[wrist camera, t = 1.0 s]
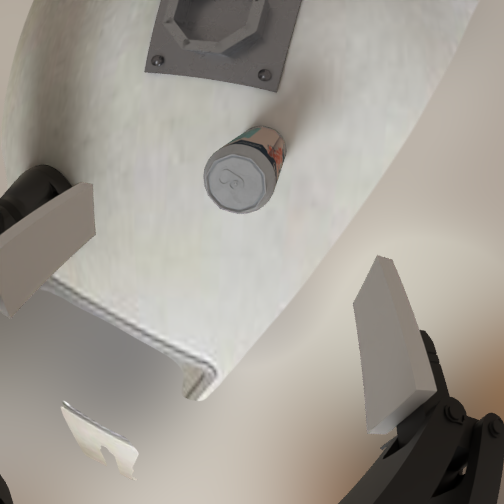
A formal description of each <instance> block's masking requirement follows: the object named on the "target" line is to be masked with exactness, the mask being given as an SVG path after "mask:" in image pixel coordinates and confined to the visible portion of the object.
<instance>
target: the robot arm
mask: <svg viewBox="0 0 504 504" xmlns="http://www.w3.org/2000/svg"><path fill="white" fill-rule="evenodd" d="M95 235H96V232H95V219H94V202H93V184H89V183H84V182H80V183H79V184H77V185H75V186H73V187H71V185H70V184H69V182H68V181H67V180H66V178H65V177H64V176H63V175H62V174H61V173H60V172H58V171H57V170H56V169H54V168H52V167H50V166H47V165H38V166H35V167H33V168H31V169H29V170H27V171H25V172H24V173H23V174H21V176H20V177H19V178H18V179H17V180H16V181H15V182H14V183H13V184H12V185H11V187H10V188H9V189H8V190H7V191H6V192H5V194H4V195H3V196H2V197H1V198H0V312H2V313H3V314H4V315H6V316H8V317H9V318H12V317H13V316H14V314H15V313H16V312H17V311H18V310H19V309H20V308H21V307H22V306H23V304H24V303H25V302H26V301H27V300H28V299H29V298H30V297H31V296H32V295H33V294H34V293H35V292H36V291H37V290H38V289H39V288H40V287H41V286H42V285H43V284H44V283H45V282H46V280H47V279H48V278H49V277H51V276H52V275H53V274H54V273H55V272H56V271H57V270H58V269H59V268H60V267H61V266H62V265H63V264H64V263H65V262H66V261H67V260H68V259H69V258H70V257H71V256H72V255H73V254H75V253H76V252H77V251H78V250H79V249H80V248H81V247H82V246H83V245H84V244H86V243H87V242H88V241H89V240H90V239H91V238H92V237H93V236H95ZM353 307H354V313H355V320H356V326H357V334H358V341H359V349H360V356H361V365H362V374H363V385H364V394H365V395H364V396H365V409H366V423H367V434H387V433H389V432H390V431H391V430H393V429H394V428H395V427H396V426H397V434H398V435H397V436H396V437H394V438H393V439H391V440H390V441H389V442H387V443H386V444H384V445H383V446H382V447H381V448H380V449H382V450H383V449H384V448H385V447H386V449H385V450H384V451H383V453H382V454H381V455H380V457H379V458H378V459H377V460H376V461H375V463H374V464H373V466H371V468H370V469H369V470H368V471H367V472H366V474H365V475H364V476H363V477H362V478H361V479H360V481H359V482H358V483H357V484H356V485H355V486H354V487H353V488H352V490H351V491H350V492H349V493H348V494H347V495H346V496H345V497H344V498H343V499H342V500H341V501H340V502H339V503H338V504H497V499H498V494H499V489H500V483H501V477H502V470H503V462H504V423H503V421H502V420H501V418H500V417H499V416H498V415H496V414H494V413H489V414H487V415H485V416H484V417H483V418H482V419H480V420H477V419H474V418H471V417H468V416H467V415H466V411H465V409H464V407H463V405H462V404H461V403H460V402H459V401H458V400H456V399H455V398H453V397H450V396H449V393H448V389H447V385H446V382H445V378H444V375H443V372H442V368H441V365H440V364H439V359H438V356H437V355H436V350H435V347H434V344H433V341H432V340H431V338H430V337H429V336H428V334H427V333H426V331H423V330H419V328H418V325H417V322H416V319H415V317H414V313H413V311H412V308H411V305H410V303H409V300H408V297H407V295H406V292H405V289H404V287H403V285H402V282H401V279H400V277H399V275H398V272H397V270H396V267H395V265H394V263H393V260H392V259H388V258H385V257H381V256H377V257H376V259H375V261H374V263H373V265H372V267H371V269H370V271H369V273H368V275H367V277H366V279H365V281H364V283H363V285H362V287H361V289H360V291H359V293H358V295H357V297H356V299H355V300H354V302H353ZM466 466H467V469H466V473H465V474H464V475H462V472H463V468H465V467H466ZM0 504H13V501H12V498H11V494H10V491H9V488H8V486H7V484H6V482H5V481H4V479H3V478H2V477H1V475H0Z"/></svg>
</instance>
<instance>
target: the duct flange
mask: <svg viewBox="0 0 504 504" xmlns="http://www.w3.org/2000/svg"><path fill="white" fill-rule="evenodd" d="M300 3H301V0H161V2H160V6H159V10H158V13H157V17H156V21H155V25H154V29H153V33H152V38H151V42H150V47H149V51H148V56H147V61H146V67H145V72H148V73H162V74H173V75H182V76H191V77H199V78H206V79H212V80H219V81H225V82H230V83H236V84H241V85H246V86H251V87H256V88H260V89H265V90H269V91H273V92H277V90H278V86H279V82H280V78H281V74H282V70H283V67H284V63H285V59H286V55H287V51H288V48H289V44H290V40H291V37H292V33H293V29H294V25H295V22H296V18H297V14H298V11H299V7H300Z"/></svg>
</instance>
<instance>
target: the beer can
mask: <svg viewBox="0 0 504 504" xmlns="http://www.w3.org/2000/svg"><path fill="white" fill-rule="evenodd" d="M285 156H286V145H285V142H284V140H283V138H282V137H281V135H280V134H279V133H278V132H276V131H275V130H273V129H271V128H268V127H263V126H258V127H254V128H251V129H249V130H248V131H246V132H244V133H243V134H241V135H240V136H238V137H237V138H235V139H234V140H232V141H231V142H229V143H228V144H226V145H225V146H223V147H222V148H220V149H219V150H218V151H216V152H215V153H214V154H213V155H212V156H211V157H210V159H209V160H208V162H207V164H206V166H205V169H204V184H205V188H206V191H207V193H208V196H209V197H210V198H211V199H212V200H213V202H214V203H215V204H216V205H217V206H218V207H219V208H220V209H223V210H226V211H229V212H233V213H237V214H246V213H250V212H253V211H256V210H258V209H260V208H261V207H263V206H264V205H265V204H266V203H267V202H268V201H269V200H270V198H271V196H272V194H273V192H274V190H275V186H276V183H277V180H278V177H279V174H280V171H281V168H282V165H283V162H284V159H285Z"/></svg>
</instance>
